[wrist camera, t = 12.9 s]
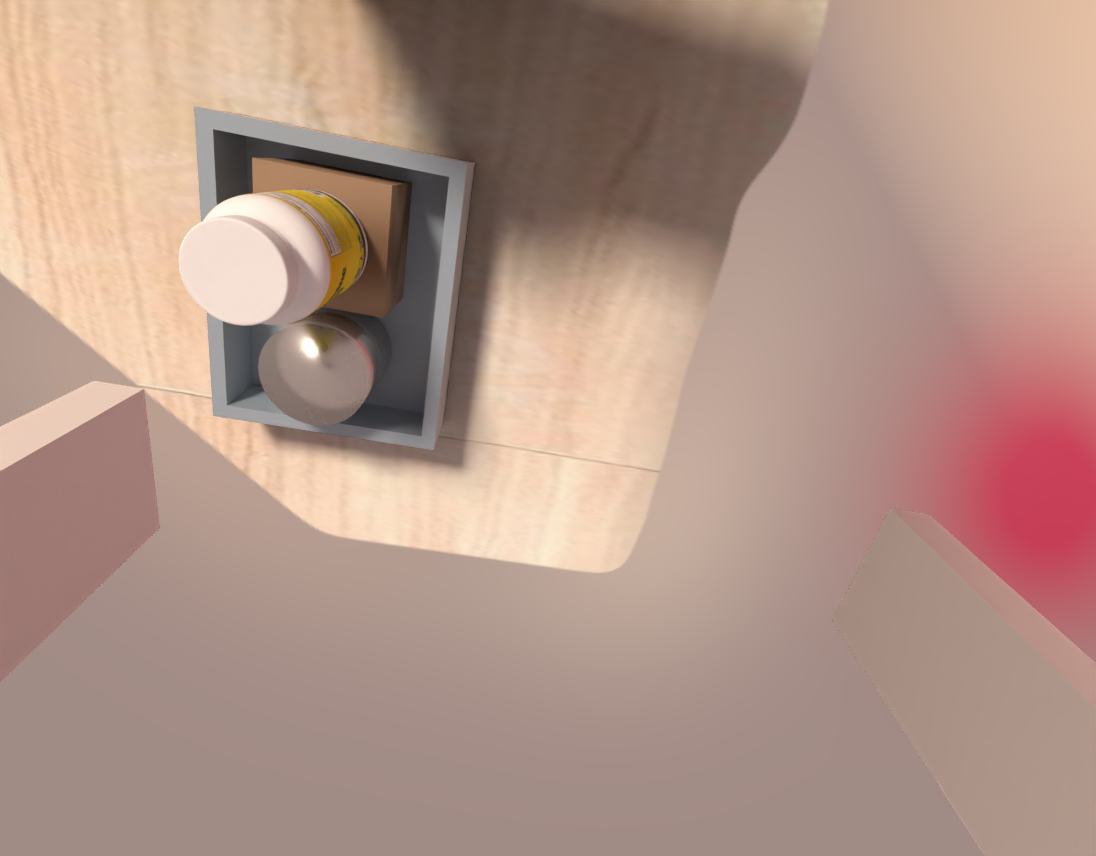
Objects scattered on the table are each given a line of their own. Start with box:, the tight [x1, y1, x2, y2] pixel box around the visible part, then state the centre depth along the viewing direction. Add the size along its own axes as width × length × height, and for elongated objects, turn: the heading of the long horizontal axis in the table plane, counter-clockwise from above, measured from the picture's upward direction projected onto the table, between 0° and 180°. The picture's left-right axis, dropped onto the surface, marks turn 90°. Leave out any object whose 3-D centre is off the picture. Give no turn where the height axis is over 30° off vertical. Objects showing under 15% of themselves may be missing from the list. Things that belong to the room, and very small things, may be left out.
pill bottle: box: [179, 189, 368, 326], centre depth 30 cm, size 6×6×11 cm
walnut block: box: [252, 158, 412, 318], centre depth 37 cm, size 8×8×6 cm
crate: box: [194, 107, 475, 450], centre depth 40 cm, size 20×16×5 cm
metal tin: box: [258, 307, 392, 426], centre depth 41 cm, size 7×7×7 cm
